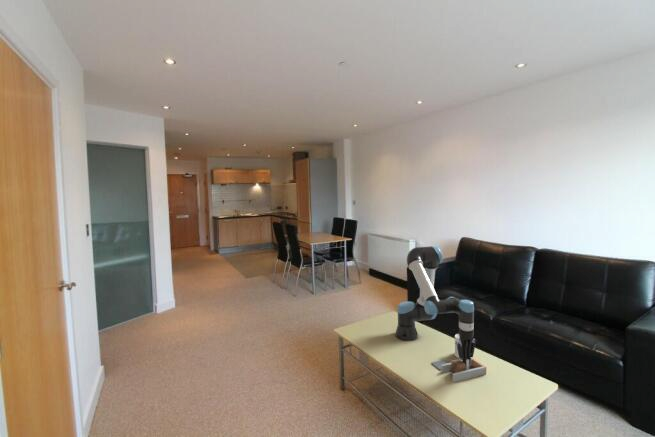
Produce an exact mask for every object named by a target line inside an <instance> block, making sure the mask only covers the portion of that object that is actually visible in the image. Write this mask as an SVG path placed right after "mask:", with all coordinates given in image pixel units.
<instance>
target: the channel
mask: <svg viewBox="0 0 655 437" xmlns="http://www.w3.org/2000/svg"><path fill="white" fill-rule="evenodd" d="M460 360H461V361H462V359H460ZM440 371H441V373H442V374H443V373H448V372H451V362H448V363H447V364H443V365H441V370H440ZM484 375H487V366H485V365H484V364H482V363H481V362H479V361H478V360H476V359H474V358H473V357H471V360H470V364H469V370H466V371H462V372H457V373H453V374H452V382H453V383H457V382H459V381H464V380H469V379H471V378H476V377H480V376H484Z"/></svg>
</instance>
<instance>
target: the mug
mask: <svg viewBox="0 0 655 437" xmlns="http://www.w3.org/2000/svg"><path fill="white" fill-rule="evenodd" d="M459 338H460V336H459V333H456V334H455V335H454V356H455V357H456V358H458V359H459V360H462V359H461V358H460V357H459V354H458V349H457V345H456V344H455V342H458V341H459ZM461 347H462V346H461Z"/></svg>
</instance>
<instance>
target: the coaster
mask: <svg viewBox="0 0 655 437" xmlns="http://www.w3.org/2000/svg"><path fill="white" fill-rule="evenodd" d="M430 364H431V365H433V366H434V367H435V368H437V370H438V371H441V365H443V364H448V363H447V362H446V361H444V360H443V359H442V360H437V361H432V362H430Z"/></svg>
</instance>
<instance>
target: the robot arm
mask: <svg viewBox="0 0 655 437" xmlns="http://www.w3.org/2000/svg"><path fill="white" fill-rule="evenodd" d="M443 260H444V257H443V253H442V250H441V249H440V248H439V247H438V246H435V245H434V246H433V245H432V246H431V245H430V246H418V247H417V246H416V247H414V248H412V249H411V250H409V251H408V254H407V257H406V265H407V267H408V269H409V270H410V271H412V274H413V276H414V278H415V281H416V283H417V285H418V288H419V297H418V298H417V300H416V303H415V302H413V301H408V300H407V301H402V302H400V303H399V304H397V310H396V311H397V326H396V329H395V337H396V338H397V339H399V340H402V341H415V340H417V339H418V336H419V334H418V331H417V328H416V322H420V321H430V320H434V319H436V317H437V315H440V314H452V313H455V314H456V315H458V334H459V336H460V338H459V341H458V342H455V341H454V345H455V344H456V345H457V349H458V354H459V357H460V358H461V359H460V358H459V359H460V360H462V362H464V363H465V371H466V370H469V364H470V360H471V358H473V357H474V354H475V348H476V344H477V342H478V340H477V339H475V338H474V335H475V330H474V329H475V328H474V324H475V322H474V321H475V320H474V318H475V306H474V302H473V301H471V300H469V299H459V298H457V297H455V296H449V297H447V298H446V299H440V298H439V296H438V294H437V292H436V290H435V288H434V287H435V278H436V270H437V269H438V268H439V264H442V262H443ZM461 346H462V347H461Z"/></svg>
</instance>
